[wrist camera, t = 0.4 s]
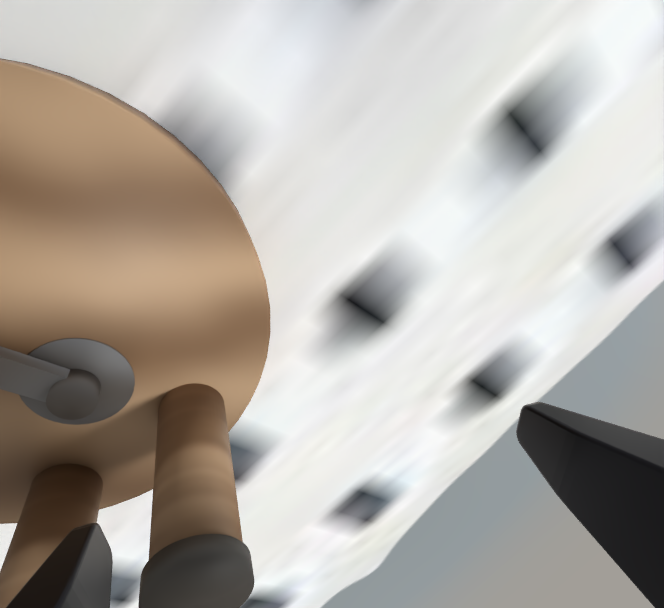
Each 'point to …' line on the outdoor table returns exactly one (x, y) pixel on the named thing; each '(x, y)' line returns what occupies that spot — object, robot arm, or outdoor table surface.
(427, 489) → the outdoor table surface
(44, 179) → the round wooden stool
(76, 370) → the hinged leg
